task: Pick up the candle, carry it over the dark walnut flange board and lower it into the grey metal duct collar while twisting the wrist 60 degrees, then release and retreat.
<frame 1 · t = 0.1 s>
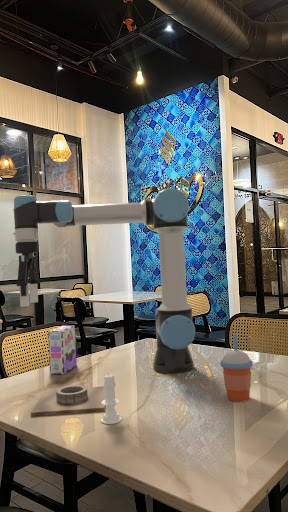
hand: (29, 304, 140), 28 cm above the table, fingers open, 13 cm apart
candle: (111, 421, 107), on the table
flange board: (72, 401, 123), on the table
candy box: (63, 370, 161), on the table
cup with straw: (238, 399, 118), on the table
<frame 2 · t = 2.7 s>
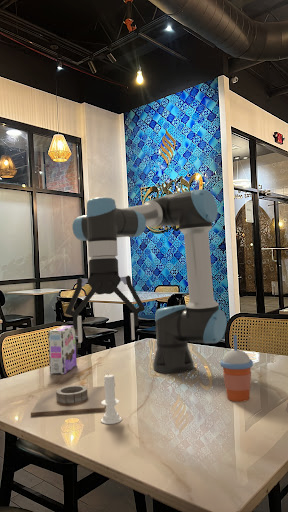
hand: (106, 340, 107), 20 cm above the table, fingers open, 13 cm apart
nothing on the table moved.
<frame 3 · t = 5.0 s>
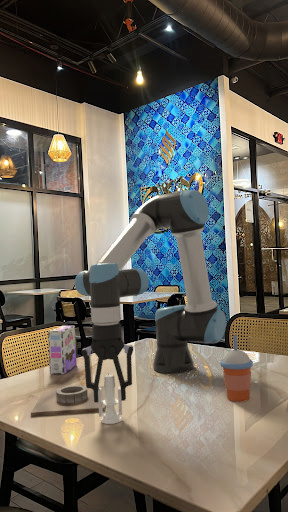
hand: (110, 413, 107), 2 cm above the table, fingers closed on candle, 4 cm apart
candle: (111, 421, 106), on the table, touching gripper
everything else where it was.
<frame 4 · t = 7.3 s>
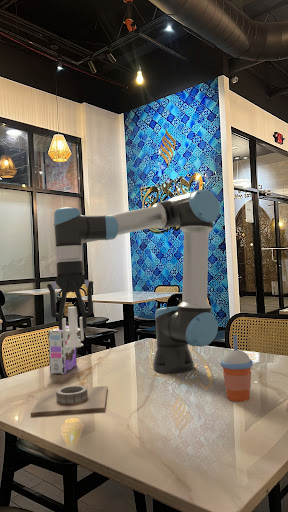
hand: (73, 340, 121), 18 cm above the table, fingers closed on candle, 4 cm apart
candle: (74, 346, 121), point 16 cm above the table, touching gripper
everything else where it was.
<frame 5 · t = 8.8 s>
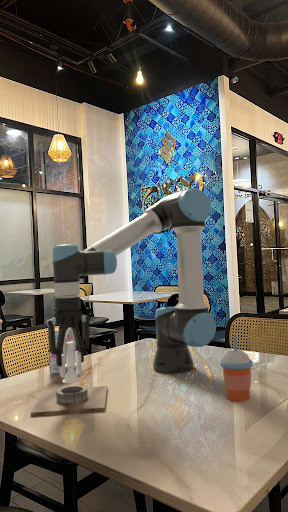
hand: (70, 375, 123), 8 cm above the table, fingers closed on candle, 4 cm apart
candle: (71, 381, 123), point 6 cm above the table, touching gripper
everything else where it was.
when the fingers open (4 cm above the table, at t = 9.7 s): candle drops 1 cm, resting on flange board.
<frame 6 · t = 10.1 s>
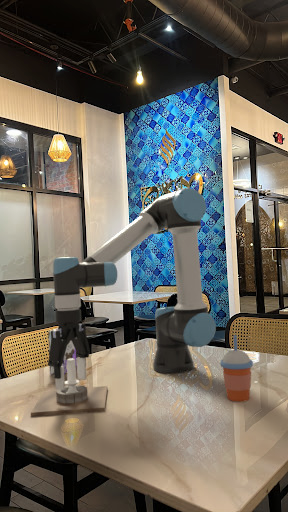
hand: (71, 384, 123), 5 cm above the table, fingers open, 10 cm apart
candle: (72, 398, 123), point 1 cm above the table, touching flange board
everything else where it was.
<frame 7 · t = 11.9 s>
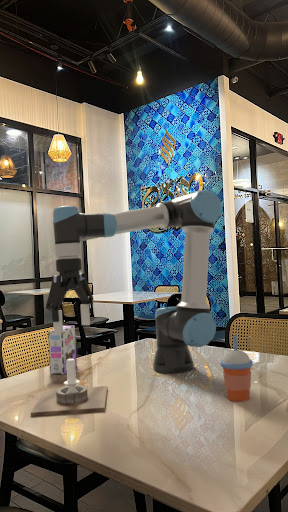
hand: (72, 329, 124), 21 cm above the table, fingers open, 13 cm apart
nothing on the table moved.
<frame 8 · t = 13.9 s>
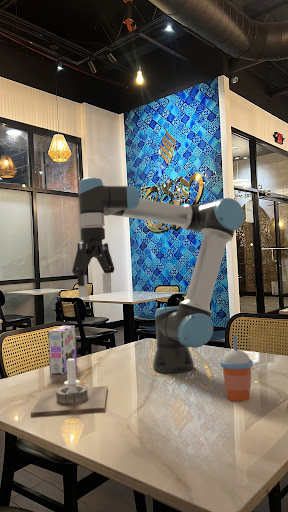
hand: (95, 294, 131), 31 cm above the table, fingers open, 13 cm apart
nothing on the table moved.
at the end: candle 0.1 cm from the flange board (horizontally); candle point 0.8 cm above the table; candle tilted 0° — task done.
